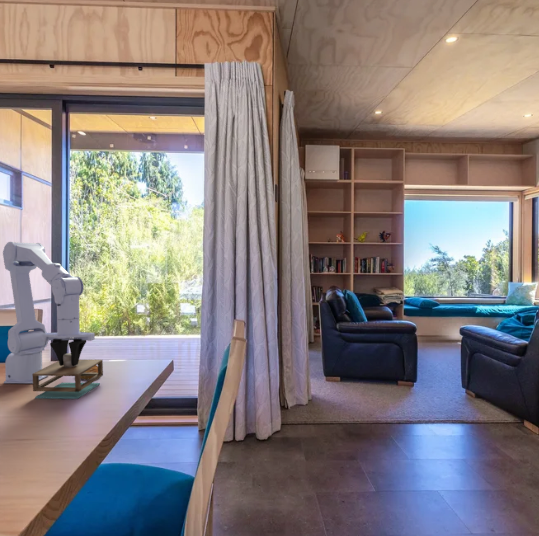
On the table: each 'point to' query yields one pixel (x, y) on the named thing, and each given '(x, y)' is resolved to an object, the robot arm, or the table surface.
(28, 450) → the table surface
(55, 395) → the mat
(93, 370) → the pastry
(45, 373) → the cover
